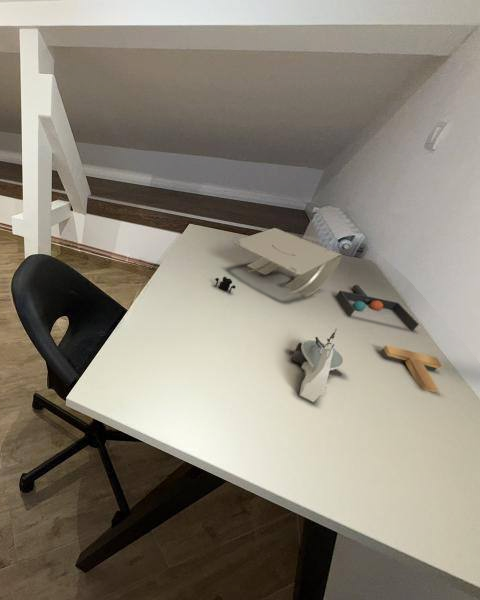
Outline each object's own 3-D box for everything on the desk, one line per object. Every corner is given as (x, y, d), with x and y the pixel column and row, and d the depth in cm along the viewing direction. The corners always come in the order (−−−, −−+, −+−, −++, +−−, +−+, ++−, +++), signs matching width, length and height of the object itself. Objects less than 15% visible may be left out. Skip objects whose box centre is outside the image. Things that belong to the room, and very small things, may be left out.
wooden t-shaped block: (427, 364, 81) (436, 357, 79) (450, 402, 73) (461, 395, 71) (378, 352, 84) (385, 345, 82) (395, 387, 75) (404, 380, 73)
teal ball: (369, 304, 98) (365, 313, 100) (364, 301, 101) (360, 310, 102) (357, 301, 99) (353, 310, 100) (353, 298, 102) (349, 307, 103)
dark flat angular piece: (411, 332, 94) (419, 324, 92) (347, 317, 98) (353, 309, 96) (379, 296, 112) (384, 288, 110) (326, 284, 116) (330, 277, 114)
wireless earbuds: (211, 287, 107) (216, 274, 104) (215, 284, 109) (220, 272, 106) (231, 296, 103) (236, 283, 100) (234, 293, 105) (240, 280, 102)
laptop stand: (323, 294, 109) (348, 254, 101) (282, 307, 100) (305, 264, 91) (261, 262, 128) (277, 226, 119) (220, 270, 118) (235, 232, 110)
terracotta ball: (377, 310, 103) (380, 301, 103) (383, 311, 100) (387, 302, 100) (365, 308, 104) (369, 299, 104) (372, 309, 101) (375, 299, 101)
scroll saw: (365, 383, 59) (297, 353, 64) (335, 417, 65) (275, 387, 70) (366, 334, 72) (310, 313, 78) (341, 367, 78) (291, 345, 84)
